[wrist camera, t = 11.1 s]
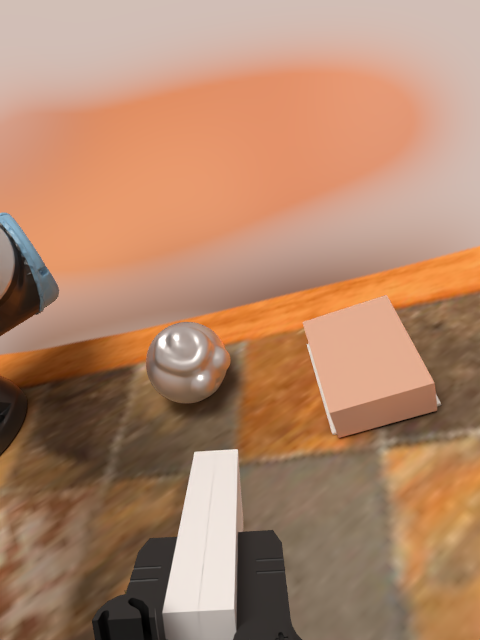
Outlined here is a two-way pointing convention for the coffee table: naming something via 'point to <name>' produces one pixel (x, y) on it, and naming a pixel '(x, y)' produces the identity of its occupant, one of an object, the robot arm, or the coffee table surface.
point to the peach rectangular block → (369, 367)
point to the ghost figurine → (187, 362)
